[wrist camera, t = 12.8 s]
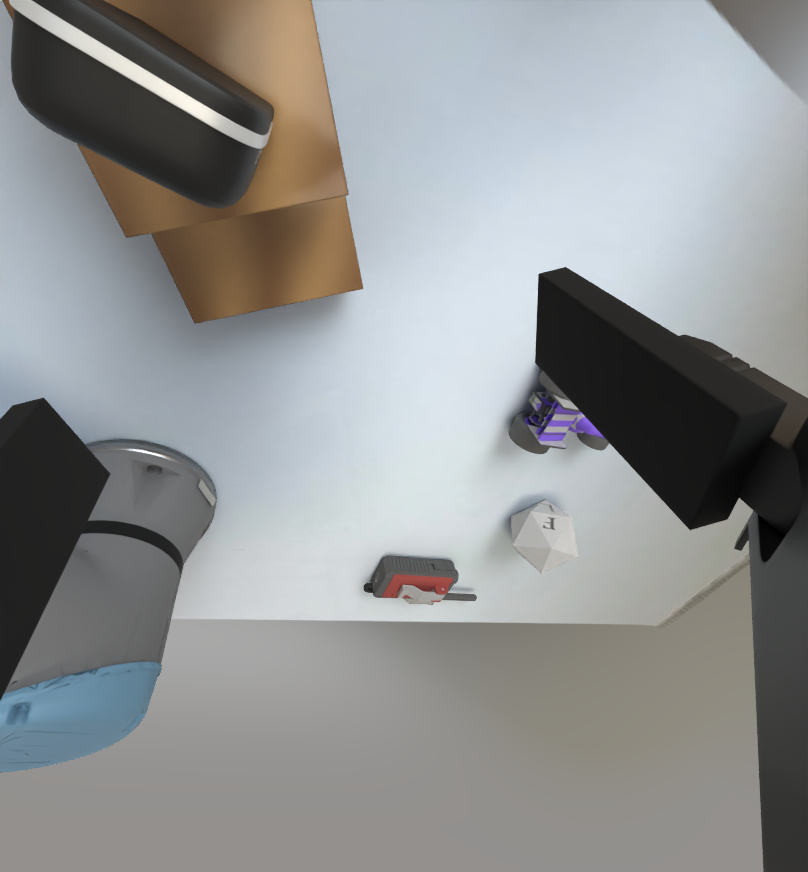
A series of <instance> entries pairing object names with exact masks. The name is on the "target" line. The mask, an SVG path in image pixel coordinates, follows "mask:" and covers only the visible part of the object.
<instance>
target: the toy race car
mask: <svg viewBox="0 0 808 872" xmlns="http://www.w3.org/2000/svg"><path fill="white" fill-rule="evenodd" d="M539 381H540V383H541V384H542V385H543V386H544V387H545V388H547V390H546V391H545V392H533V393H532V395H531V396H530V399H529V400H528V401H529V403H530V404H531V405H532V406H533V408H534V412H533V414H531V413H519V414H518V415H517V417H516V418H515V420H514V422H513V424H512V425H511V427H510V429H509V436H510V438H511V439H512V441H513V442H514V443H516V444H517V445H518V446H519V447H521V448H523V449H524V450H526V451H529V452H532V453H536V454H544V453H546V452H547V451H548V449H549V448H550V447H552V448H559V449H566V447H567V445H566V444H565V442H564V441H563V438H564V437H565V435H566V432H567V430H570V431H572V432H575V433H577V437H578V438H579V439H580V440H581V441H582V442H583V443H584V444H586V445H587V446H589V447H591V448H593V449H596V450H604V449H605V448H606V447H607V445H608V444H609V442H608V441H607V440H606V439H605V438H604V436H603V435H602V434H601V433H600V432H599V431H598V430H597V429H596V428H595V427H594V426H593V425H592V423H591V422H590V421H589V420H588V419H587V418H586V417H585V416H584V415H583V414H582V413H581V412H580V410H579V409H578V408H577V407H576V406H575V405H574V404H573V403H572V402H571V401H570V400H569V399H568V397H567V396H566V395H565V394H564V393H563V392H562V391H561V390H560V389H559V388H558V387H557V386H556V385H555V383H554V382H553V381H552V380H551V379H550V378H549V377H548V376H547V375H546V374H545V373H544V372H543V370H542V372H541V374H540V375H539ZM547 391H548V393H547ZM535 412H537V413H540V414H541V416H540V417H539V416H537V415H534V414H535ZM544 417H546V418H545V420H544V419H543V418H544Z"/></svg>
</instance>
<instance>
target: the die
mask: <svg viewBox="0 0 808 872" xmlns="http://www.w3.org/2000/svg"><path fill="white" fill-rule="evenodd" d="M511 527H512V546H513V547H514V548H515V550H516V551H517V552H518V553H519V554H520V555H522V556H523V557H524V558H525V559H526V560H527V561H528V562H529V563H530V564H531V565H533V566H534V567H535V568H536V569H537V570H538V571H539V572H540V573H543V572H545V571H547V570H550V569H552V568H554V567H556V566H558V565H561V564H563V563H565V562H567V561H569V560H572V559H574V558H576V557H578V552H577V545H576V539H575V533H574V526H573V520H572V517H571V516H569V515H568V514H566V513H565V512H563V511H562V510H560V509H559V508H557V507H556V506H554V505H553V504H551V503H550V502H548V501H547V500H543V501H541V502H539V503H537V504H535V505H533V506H531V507H528V508H526V509H524V510H522V511H520V512H518V513H516V514H514V515H512V516H511Z"/></svg>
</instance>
